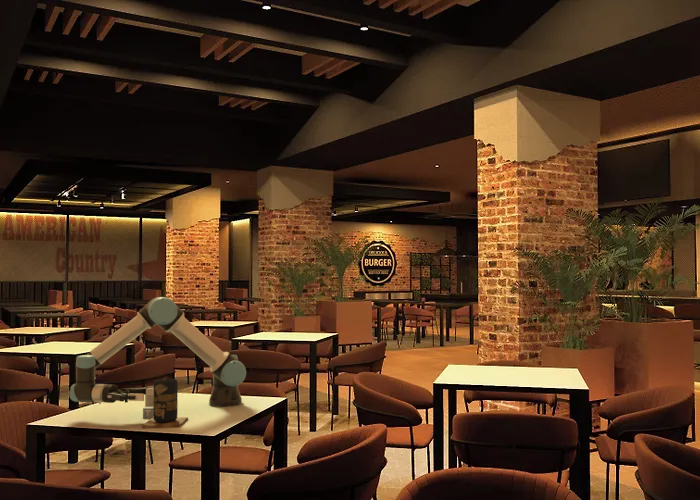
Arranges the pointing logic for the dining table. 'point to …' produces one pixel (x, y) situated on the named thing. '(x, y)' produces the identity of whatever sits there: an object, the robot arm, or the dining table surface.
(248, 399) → the dining table surface
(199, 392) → the dining table surface
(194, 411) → the dining table surface
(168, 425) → the walnut board
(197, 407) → the dining table surface
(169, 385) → the canister
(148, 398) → the mug
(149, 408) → the letter cube
